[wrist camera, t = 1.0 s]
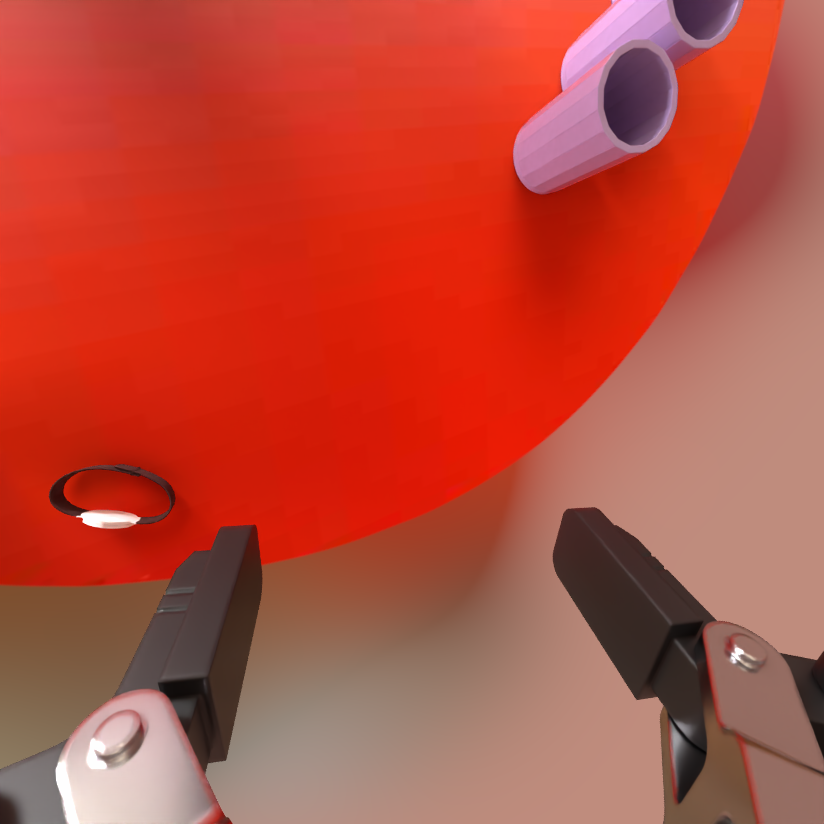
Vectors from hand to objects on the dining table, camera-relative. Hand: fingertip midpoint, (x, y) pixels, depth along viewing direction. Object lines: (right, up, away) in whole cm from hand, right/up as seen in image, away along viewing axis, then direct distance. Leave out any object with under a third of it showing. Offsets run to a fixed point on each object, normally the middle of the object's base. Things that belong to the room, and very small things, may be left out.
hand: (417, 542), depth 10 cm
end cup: (+11, +25, +23) cm, 36 cm away
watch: (-23, -3, +21) cm, 31 cm away
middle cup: (+15, +31, +23) cm, 41 cm away
